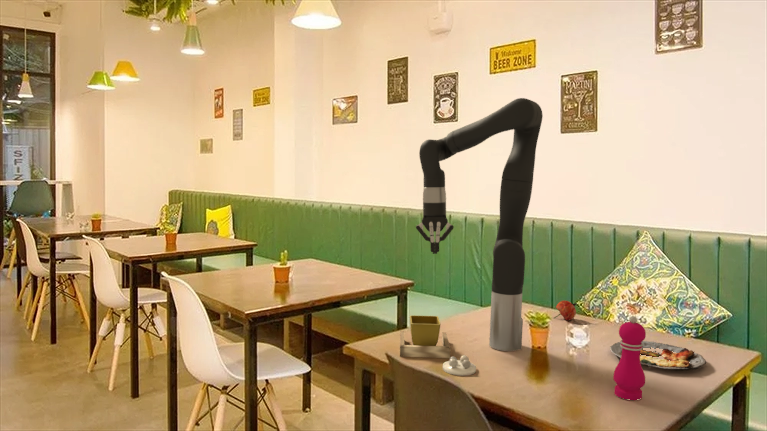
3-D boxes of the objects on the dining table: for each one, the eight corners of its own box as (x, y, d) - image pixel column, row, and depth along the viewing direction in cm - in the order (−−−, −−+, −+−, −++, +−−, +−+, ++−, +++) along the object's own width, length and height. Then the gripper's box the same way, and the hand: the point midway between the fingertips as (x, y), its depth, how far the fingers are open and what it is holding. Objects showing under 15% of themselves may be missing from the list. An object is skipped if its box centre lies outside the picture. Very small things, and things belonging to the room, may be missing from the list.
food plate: (714, 360, 168) (715, 348, 168) (691, 382, 151) (692, 369, 151) (627, 343, 185) (628, 332, 185) (598, 361, 168) (598, 349, 168)
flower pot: (439, 353, 168) (440, 324, 168) (410, 353, 168) (410, 323, 168) (437, 344, 177) (438, 315, 176) (408, 343, 177) (409, 315, 176)
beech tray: (445, 341, 180) (446, 332, 180) (449, 358, 165) (450, 347, 165) (400, 340, 180) (400, 330, 180) (399, 356, 165) (400, 346, 165)
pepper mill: (606, 389, 144) (611, 312, 142) (634, 389, 145) (639, 312, 143) (621, 402, 137) (626, 320, 135) (650, 401, 138) (655, 320, 136)
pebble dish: (473, 364, 160) (474, 352, 160) (478, 376, 151) (478, 363, 151) (441, 363, 161) (442, 351, 160) (443, 374, 152) (444, 362, 151)
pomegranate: (557, 327, 206) (581, 313, 203) (546, 310, 208) (569, 296, 205) (560, 324, 213) (584, 311, 210) (549, 307, 215) (572, 294, 212)
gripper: (414, 202, 184) (414, 255, 186) (455, 201, 184) (455, 255, 185) (414, 200, 192) (415, 252, 193) (454, 200, 191) (454, 251, 192)
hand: (435, 253), depth 189 cm, fingers closed
